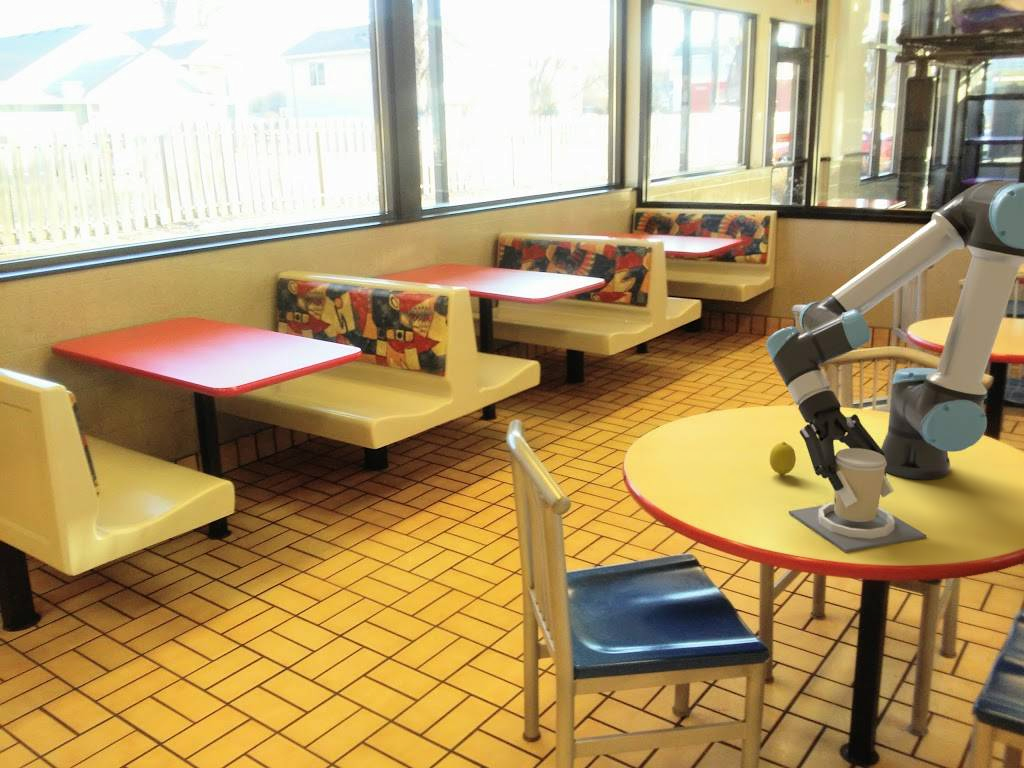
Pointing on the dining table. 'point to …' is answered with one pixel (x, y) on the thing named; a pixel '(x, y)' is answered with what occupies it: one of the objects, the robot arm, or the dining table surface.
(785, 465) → the lemon
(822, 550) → the dining table surface
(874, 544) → the cup tray
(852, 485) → the coffee cup
